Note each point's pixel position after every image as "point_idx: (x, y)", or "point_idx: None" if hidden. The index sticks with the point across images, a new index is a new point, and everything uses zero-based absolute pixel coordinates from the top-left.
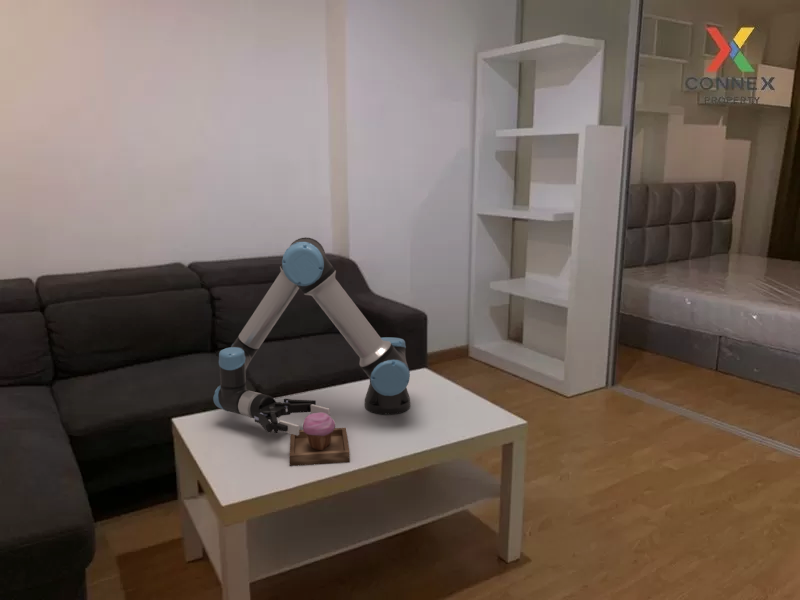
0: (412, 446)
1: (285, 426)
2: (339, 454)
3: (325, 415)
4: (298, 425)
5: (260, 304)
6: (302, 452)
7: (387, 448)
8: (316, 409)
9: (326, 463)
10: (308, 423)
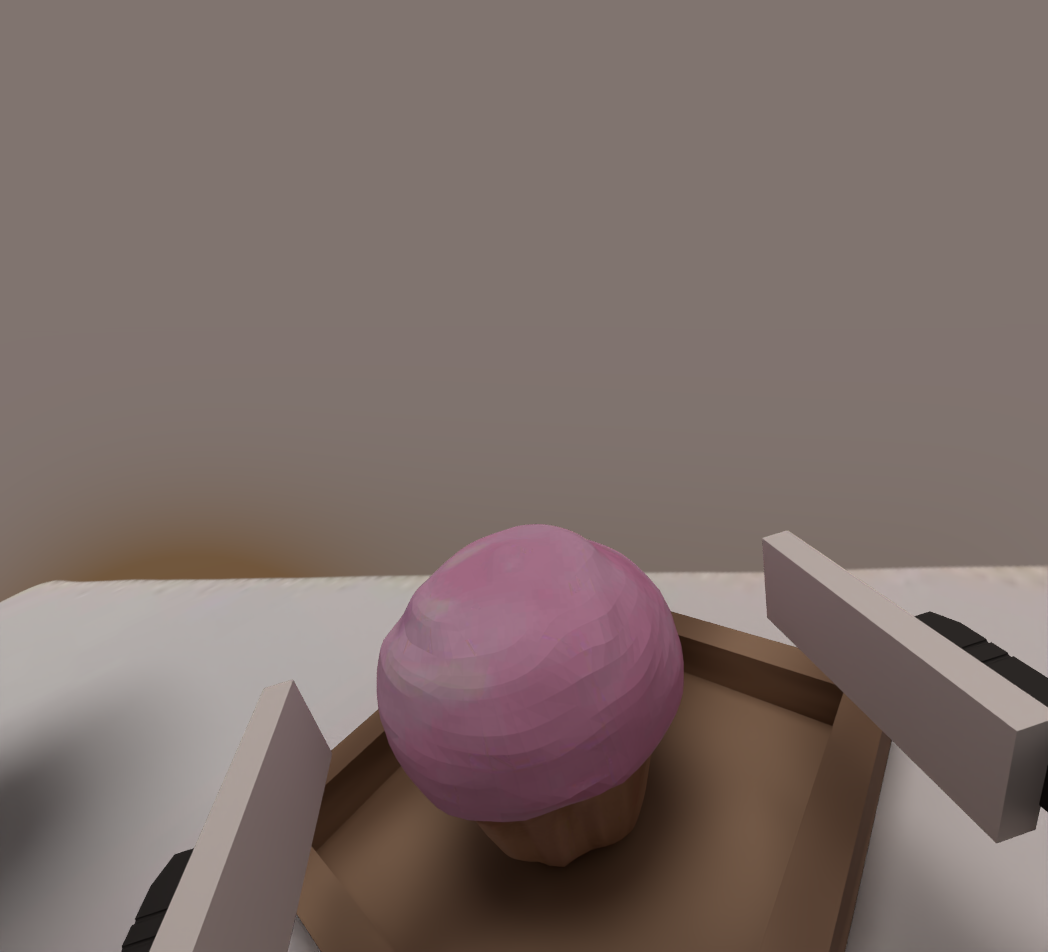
0: (287, 607)
1: (925, 618)
2: None
3: (463, 557)
4: (767, 537)
5: None
6: (735, 805)
7: (341, 635)
8: (249, 890)
9: None
10: (639, 586)
